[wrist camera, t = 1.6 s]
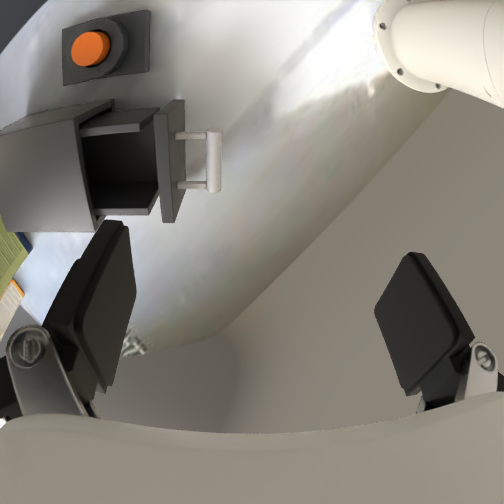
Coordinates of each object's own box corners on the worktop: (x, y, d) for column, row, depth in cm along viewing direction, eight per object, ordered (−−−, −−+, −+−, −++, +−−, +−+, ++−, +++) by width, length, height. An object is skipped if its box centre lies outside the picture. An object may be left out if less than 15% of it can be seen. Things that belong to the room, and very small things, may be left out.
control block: (150, 11, 20) (141, 7, 18) (149, 71, 24) (139, 73, 22) (68, 29, 19) (53, 29, 17) (69, 84, 24) (55, 88, 21)
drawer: (226, 99, 26) (221, 112, 21) (223, 189, 33) (218, 224, 27) (78, 110, 25) (42, 128, 20) (90, 190, 32) (64, 222, 26)
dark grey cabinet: (114, 98, 26) (73, 118, 19) (123, 190, 33) (95, 232, 26) (25, 116, 25) (-21, 141, 18) (41, 194, 32) (6, 232, 25)
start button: (110, 28, 19) (103, 28, 17) (110, 61, 21) (102, 62, 20) (79, 36, 18) (71, 36, 17) (79, 67, 21) (71, 69, 19)
